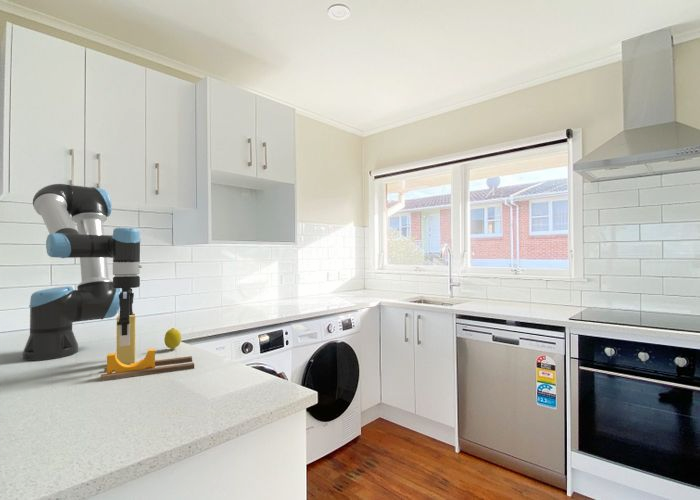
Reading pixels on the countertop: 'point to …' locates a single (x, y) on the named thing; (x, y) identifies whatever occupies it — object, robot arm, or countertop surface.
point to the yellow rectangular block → (127, 352)
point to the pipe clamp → (120, 367)
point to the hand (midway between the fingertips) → (126, 341)
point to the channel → (152, 370)
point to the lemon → (172, 338)
